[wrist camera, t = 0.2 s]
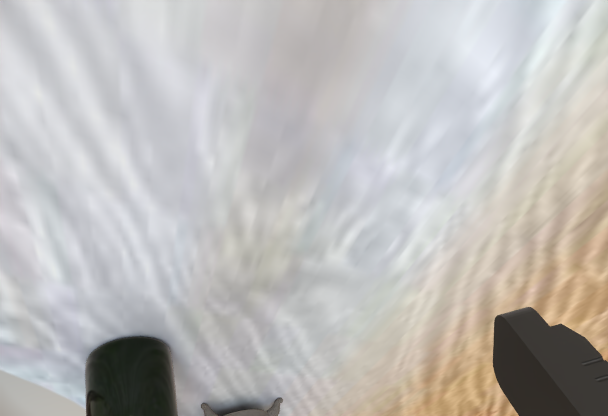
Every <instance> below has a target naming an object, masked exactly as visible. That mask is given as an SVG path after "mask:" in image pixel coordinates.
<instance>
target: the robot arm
mask: <svg viewBox="0 0 608 416" xmlns="http://www.w3.org/2000/svg"><path fill="white" fill-rule="evenodd" d="M493 367H494V372H495V375H496V378H497V381H498V383H499V385H500V387H501V389H502V391H503V392H504V394H505V395H506V397H507V398H508V400H509V401H510V403H511V404H512V406H513V407H514V409H515V410H516V412H517V413H518V415H519V416H608V362H607V361H606V360H605V361H604V360H603V358H602V355H601V354H600V353H599V352H598V351H597V350H596V349H595V348H594V347H593V346H592V345H591V344H590V343H589V341H588V340H587V339H586V338H585V337H583V336H581V335H580V334H578V333H576V332H574V331H573V330H571V329H569V328H568V327H566V326H564V325H562V324H558V325H555V326H551V327H550V326H549V325H548V324H547V323H546V322H545V321H544V319H543V318H542V317H541V316H540V315H539V314H538V313H537V311H536V310H534V309H533V308H531V307H526V308H523V309H519V310H515V311H512V312H508V313H505V314H501V315H498V316H496V318H495V322H494V347H493Z"/></svg>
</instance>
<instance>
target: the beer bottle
mask: <svg viewBox="0 0 608 416" xmlns="http://www.w3.org/2000/svg"><path fill="white" fill-rule="evenodd" d="M85 388H86V416H178V411H177V401H176V390H175V381H174V372H173V363H172V356H171V351H170V349H169V347H168V346H167V345H166V344H165V343H164V342H162V341H160V340H157V339H154V338H149V337H127V338H121V339H117V340H114V341H110V342H108V343H106V344H103V345H102V346H100V347H98V348H97V349H95V350H94V351H93V352H92V353H91V354H90V355H89V356H88V358H87V360H86V364H85Z"/></svg>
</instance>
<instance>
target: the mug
mask: <svg viewBox="0 0 608 416" xmlns="http://www.w3.org/2000/svg"><path fill="white" fill-rule="evenodd" d="M282 402H283V399H282V398H278V399H277V400H276V401H275V402H274V404H273V406H272V407H271V408H270V409H269V410H267V411H264V410H259V409H249V410H242V411H237V412H233V413H229V414H226V415H223V416H278V414H279V411H280V403H282ZM201 408H202V409H204V413H205V416H219V415H217V414H216V413H214V412H213V411H212V410H211V408H210V407H209V406H208V405H207V404H205V403H203V404H202V405H201Z"/></svg>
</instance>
